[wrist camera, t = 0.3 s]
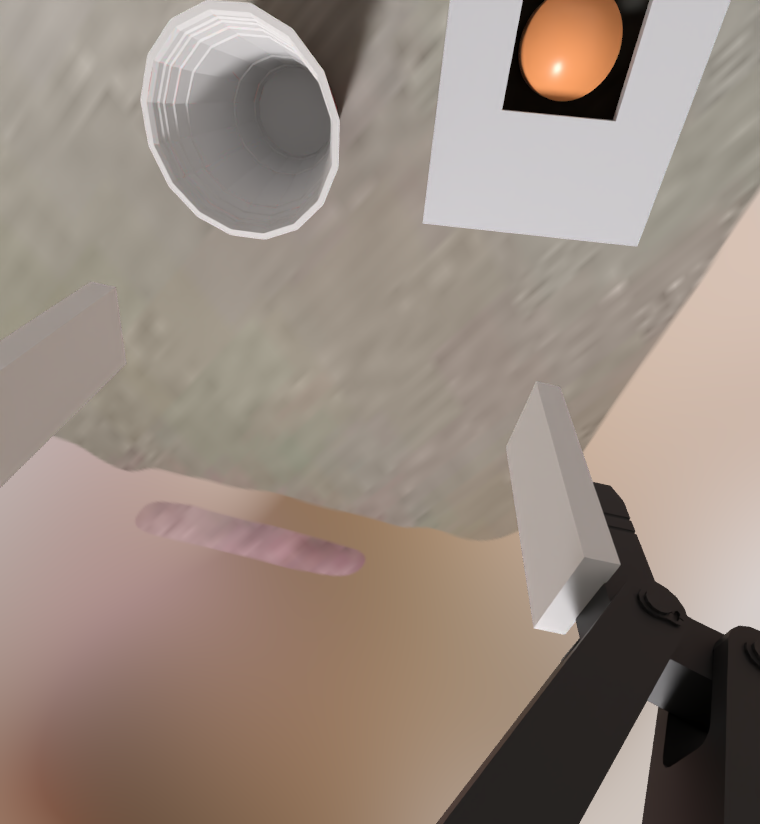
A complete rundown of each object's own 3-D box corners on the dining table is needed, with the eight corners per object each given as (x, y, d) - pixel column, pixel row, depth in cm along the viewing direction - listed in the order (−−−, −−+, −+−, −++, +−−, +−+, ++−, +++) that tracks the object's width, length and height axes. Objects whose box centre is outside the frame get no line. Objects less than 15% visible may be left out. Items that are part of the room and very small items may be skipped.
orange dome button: (530, -15, 28) (537, -20, 26) (623, -7, 28) (637, -12, 26) (509, 94, 31) (513, 96, 29) (593, 102, 31) (603, 105, 29)
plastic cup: (224, -11, 32) (128, -39, 22) (388, 45, 32) (363, 41, 23) (213, 169, 38) (135, 209, 28) (350, 212, 39) (318, 264, 29)
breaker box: (475, -203, 26) (482, -262, 21) (749, -183, 25) (821, -239, 20) (425, 201, 38) (422, 223, 33) (612, 221, 37) (637, 246, 32)
